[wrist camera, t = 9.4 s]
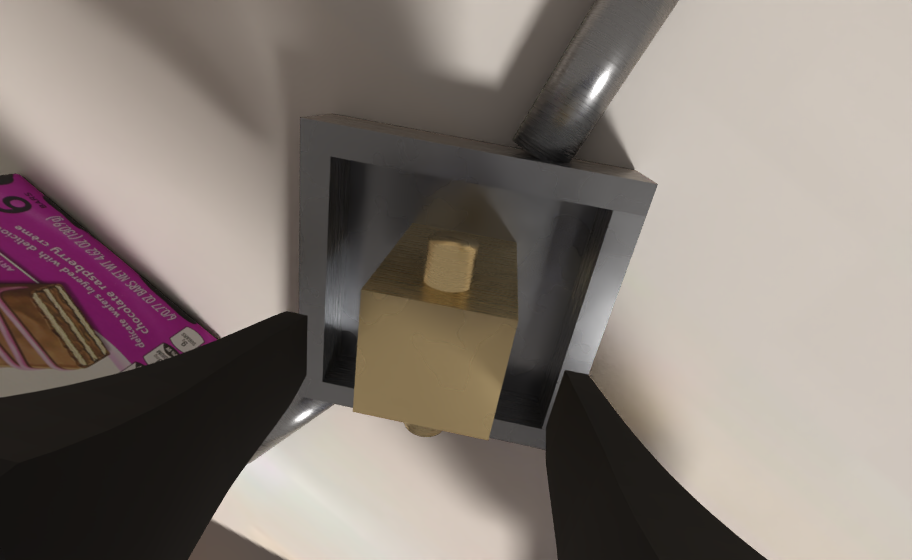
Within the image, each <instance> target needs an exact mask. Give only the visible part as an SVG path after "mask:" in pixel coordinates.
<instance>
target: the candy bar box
mask: <svg viewBox="0 0 912 560" xmlns="http://www.w3.org/2000/svg"><path fill="white" fill-rule="evenodd" d="M216 340H217V339H216V338H215V337H213V336H212V335H211V334H210V333H209V332H208V331H206V330H205V329H204V328H203V327H202V326H200V325H199V324H198V323H197V322H195V321H194V320H193V319H191V318H190V317H189V316H188V315H187V314H186V313H185V312H183V311H182V310H181V309H180V308H179V307H177V306H176V305H175V304H174V303H172V302H171V301H170V300H169V299H168V298H166V297H165V296H164V295H163V294H162V293H161V292H159V291H158V290H157V289H156V288H154V287H153V286H152V285H151V284H150V283H148V282H147V281H146V280H145V279H144V278H143V277H141V276H140V275H139V274H138V273H136V272H135V271H134V270H133V269H132V268H131V267H129V266H128V265H127V264H126V263H125V262H123V261H122V260H121V259H120V258H119V257H117V256H116V255H115V254H114V253H113V252H111V251H110V250H109V249H108V248H107V247H105V246H104V245H103V244H102V243H100V242H99V241H98V240H97V239H96V238H94V237H93V236H92V235H91V234H90V233H89V232H87V231H86V230H85V229H84V228H83V227H82V226H80V225H79V224H78V223H77V222H76V221H74V220H73V219H72V218H71V217H70V216H69V215H67V214H66V213H65V212H64V211H62V210H61V209H60V208H59V207H58V206H57V205H55V204H54V203H53V202H52V201H51V200H50V199H48V198H47V197H46V196H45V195H44V194H42V193H41V192H40V191H39V190H38V189H36V188H35V187H34V186H33V185H32V184H30V183H29V182H28V181H27V180H26V179H25V178H23V177H22V176H21V175H19V174H8V175H0V398H1V397H7V396H13V395H19V394H24V393H30V392H36V391H41V390H46V389H51V388H56V387H62V386H66V385H71V384H75V383H79V382H84V381H88V380H92V379H96V378H100V377H104V376H109V375H113V374H117V373H121V372H124V371H128V370H132V369H135V368H138V367H142V366H145V365H148V364H152V363H155V362H158V361H161V360H164V359H167V358H170V357H173V356H176V355H179V354H182V353H184V352H187V351H189V350H192V349H195V348H197V347H200V346H203V345H205V344H208V343H210V342H213V341H216Z"/></svg>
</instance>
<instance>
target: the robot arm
mask: <svg viewBox="0 0 912 560" xmlns="http://www.w3.org/2000/svg"><path fill="white" fill-rule="evenodd" d="M307 325H308V316H307V315H302V314H297V313H293V312H288V311H286V312H283V313H280V314H278V315H275V316H272V317H270V318H268V319H265V320H263V321H261V322H258V323H256V324H254V325H251V326H249V327H247V328H244V329H242V330H240V331H237V332H235V333H232V334H230V335H228V336H225V337H223V338H221V339H218V340H216V341H213V342H210V343H208V344H205V345H203V346H200V347H197V348H195V349H192V350H189V351H187V352H184V353H182V354H179V355H176V356H173V357H170V358H167V359H164V360H161V361H158V362H155V363H152V364H148V365H145V366H142V367H138V368H135V369H132V370H128V371H124V372H121V373H117V374H113V375H109V376H104V377H100V378H96V379H92V380H88V381H84V382H79V383H75V384H71V385H66V386H62V387H56V388H51V389H46V390H41V391H36V392H30V393H24V394H19V395H13V396H7V397H1V398H0V560H188V558H189V556H190V555H191V553H192V551H193V549H194V548H195V546H196V544H197V542H198V541H199V539H200V537H201V535H202V534H203V532H204V530H205V528H206V527H207V525H208V523H209V522H210V520H211V518H212V517H213V515H214V513H215V512H216V510H217V508H218V507H219V505H220V503H221V502H222V500H223V498H224V497H225V495H226V493H227V492H228V490H229V489H230V487H231V486H232V484H233V483H234V481H235V480H236V478H237V477H238V475H239V474H240V473H241V471H242V470H243V469H244V467H245V466H246V465H247V463H248V462H249V461H250V459H251V458H252V456H253V455H254V454H255V452H256V451H257V450H258V448H259V447H260V446H261V444H262V443H263V442H264V440H265V439H266V438H267V436H268V435H269V434H270V432H271V431H272V430H273V428H274V427H275V426H276V424H277V423H278V421H279V420H280V419H281V417H282V416H283V415H284V413H285V412H286V410H287V409H288V408H289V406H290V405H291V403H292V401H293V399H294V398H295V396H296V394H297V392H298V390H299V389H300V387H301V385H302V383H303V381H304V379H305V377H306V375H307ZM546 467H547V476H548V484H549V492H550V499H551V507H552V514H553V522H554V530H555V537H556V545H557V555H558V560H767V559H766V558H765V557H763V556H762V555H761V554H759V553H758V552H757V551H756V550H754V549H753V548H752V547H751V546H749V545H748V544H747V543H746V542H744V541H743V540H742V539H741V538H739V537H738V536H737V535H736V534H735V533H733V532H732V531H731V530H730V529H729V528H728V527H726V526H725V525H724V524H723V523H722V522H721V521H719V520H718V519H717V518H716V517H715V516H714V515H712V514H711V513H710V512H709V511H708V510H707V509H706V508H705V507H703V506H702V505H701V504H700V503H699V502H698V501H697V500H696V499H695V498H694V497H693V496H692V495H691V494H690V493H689V492H687V491H686V490H685V489H684V488H683V487H682V486H681V485H680V484H679V483H678V482H677V481H676V480H675V479H674V478H673V477H672V476H671V475H670V474H669V473H668V472H667V471H666V470H665V469H664V468H663V466H662V465H661V464H660V463H659V462H658V461H657V460H656V459H655V458H654V457H653V455H652V454H651V453H650V452H649V451H648V450H647V449H646V448H645V446H644V445H643V444H642V443H641V442H640V441H639V440H638V438H637V437H636V436H635V435H634V434H633V432H632V431H631V430H630V429H629V427H628V426H627V425H626V424H625V422H624V421H623V420H622V419H621V417H620V416H619V415H618V414H617V412H616V411H615V410H614V408H613V407H612V406H611V404H610V403H609V402H608V400H607V399H606V398H605V397H604V395H603V394H602V393H601V391H600V390H599V389H598V387H597V386H596V385H595V383H594V382H593V381H592V379H591V378H590V377H589V376H588V374H583V373H578V372H574V371H569V370H565V371H564V374H563V377H562V380H561V383H560V386H559V389H558V392H557V395H556V398H555V401H554V404H553V407H552V410H551V413H550V416H549V419H548V422H547V425H546Z"/></svg>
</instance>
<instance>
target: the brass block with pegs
mask: <svg viewBox="0 0 912 560" xmlns="http://www.w3.org/2000/svg"><path fill="white" fill-rule="evenodd" d="M517 324H518V278H517V242H511V241H506V240H501V239H495V238H490V237H485V236H480V235H474V234H469V233H464V232H458V231H453V230H448V229H443V228H437V227H432V226H427V225H421V224H416V223H412V224H411V226H410V227H409V228H408V230H407V231H406V232H405V233H404V235H403V236H402V237H401V239H400V240H399V241H398V242H397V244H396V245H395V246H394V248H393V249H392V250H391V252H390V253H389V254H388V255H387V257H386V258H385V259H384V261H383V262H382V263H381V264H380V266H379V267H378V268H377V270H376V271H375V272H374V274H373V275H372V276H371V277H370V279H369V280H368V281H367V283H366V284H365V285H364V286H363V288H362V289H361V298H360V313H359V328H358V342H357V357H356V372H355V386H354V401H353V412H357V413H362V414H366V415H371V416H376V417H380V418H385V419H390V420H395V421H399V422H404V424H405V426H406V428H407V429H408V430H409V431H410V432H411V433H413V434H415V435H418V436H422V437H432V436H435V435H438V434H439V433H441V432H442V431H446V432H451V433H456V434H460V435H465V436H470V437H474V438H479V439H484V440H489V436H490V432H491V428H492V424H493V420H494V416H495V412H496V408H497V404H498V400H499V396H500V392H501V388H502V384H503V380H504V376H505V372H506V368H507V364H508V360H509V356H510V352H511V348H512V344H513V340H514V336H515V332H516V328H517Z"/></svg>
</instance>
